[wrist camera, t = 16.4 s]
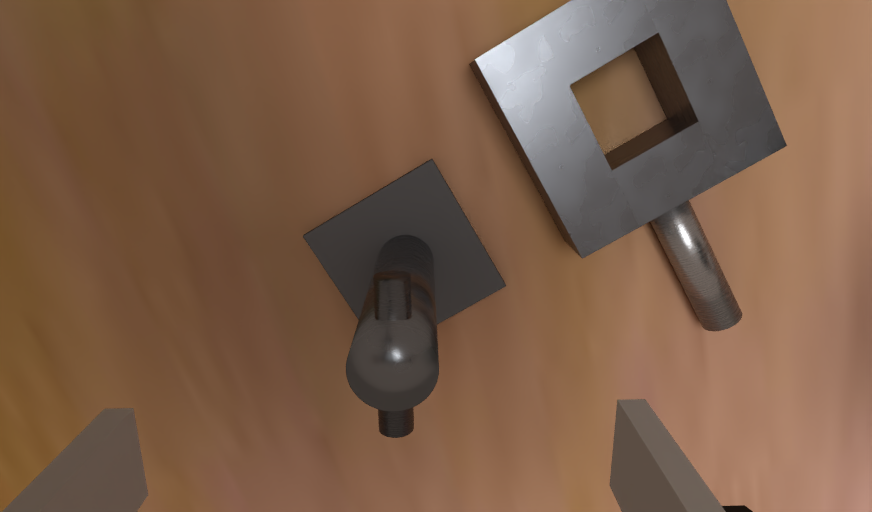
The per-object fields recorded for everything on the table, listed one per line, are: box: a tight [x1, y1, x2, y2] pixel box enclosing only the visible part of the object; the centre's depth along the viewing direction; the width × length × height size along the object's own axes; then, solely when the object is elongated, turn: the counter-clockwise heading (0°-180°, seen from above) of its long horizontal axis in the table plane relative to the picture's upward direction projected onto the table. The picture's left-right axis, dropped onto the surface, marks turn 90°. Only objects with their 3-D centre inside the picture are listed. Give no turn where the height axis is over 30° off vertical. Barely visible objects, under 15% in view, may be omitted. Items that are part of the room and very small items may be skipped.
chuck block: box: [469, 0, 787, 331], centre depth 32 cm, size 21×12×4 cm, turn 30°
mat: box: [303, 159, 506, 324], centre depth 35 cm, size 9×9×1 cm
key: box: [346, 235, 439, 438], centre depth 28 cm, size 3×6×14 cm, turn 0°
